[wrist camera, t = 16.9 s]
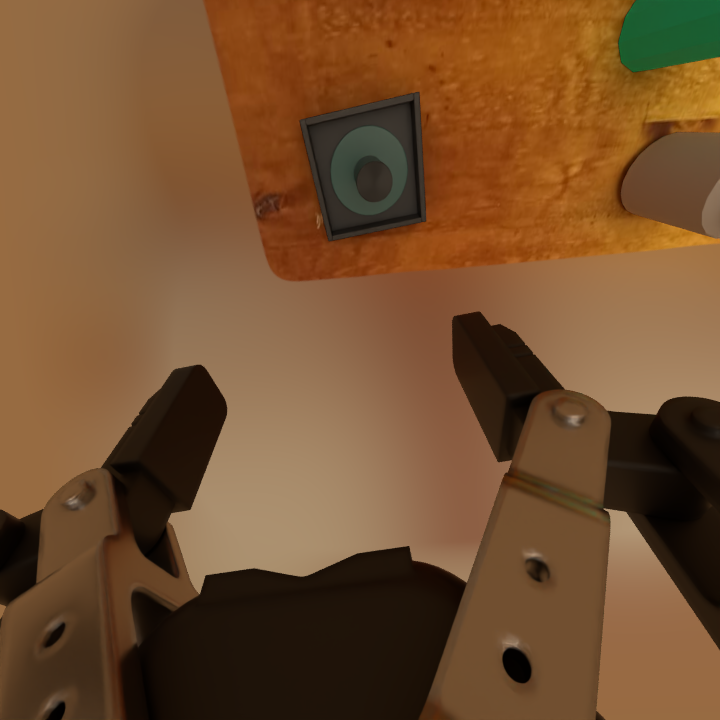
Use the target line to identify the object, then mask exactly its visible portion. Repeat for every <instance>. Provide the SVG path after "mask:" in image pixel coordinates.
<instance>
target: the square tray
mask: <svg viewBox="0 0 720 720" xmlns="http://www.w3.org/2000/svg"><path fill="white" fill-rule="evenodd" d="M300 125H301V129H302V133H303V137H304V141H305V146H306V150H307V154H308V158H309V162H310V166H311V170H312V175H313V179H314V183H315V187H316V191H317V195H318V200H319V204H320V208H321V212H322V216H323V220H324V225H325V229H326V233H327V237H328V241H333V240H338V239H343V238H348V237H353V236H358V235H362V234H367V233H372V232H377V231H382V230H387V229H391V228H396V227H401V226H406V225H411V224H415V223H420V222H425V221H426V206H425V188H424V169H423V151H422V132H421V114H420V95H419V92H415V93H411V94H407V95H403V96H399V97H394V98H390V99H386V100H382V101H377V102H373V103H369V104H365V105H361V106H356V107H352V108H348V109H344V110H340V111H335V112H331V113H327V114H323V115H318V116H314V117H310V118H306V119H302V120H300ZM367 125H373V126H379V127H382V128H384V129H386V130H388V131H389V132H391V133H392V134H393V135H394V136H395V137H396V138H397V139H398V140H399V142H400V143H401V145H402V147H403V149H404V151H405V154H406V158H407V164H408V175H407V181H406V185H405V188H404V190H403V192H402V194H401V196H400V198H399V199H398V200H397V201H396V203H395V204H394V205H393V206H391V207H390V208H389V209H387V210H386V211H384V212H382V213H379V214H376V215H361V214H357V213H355V212H353V211H351V210H349V209H348V208H347V207H345V206H344V205H343V204H342V203H341V201H340V200H339V199H338V197H337V195H336V193H335V191H334V189H333V186H332V182H331V173H330V169H331V161H332V157H333V154H334V151H335V149H336V147H337V145H338V144H339V142H340V141H341V140H342V138H343V137H344V136H345V135H346V134H347V133H349V132H350V131H352V130H354V129H356V128H358V127H361V126H367Z"/></svg>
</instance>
